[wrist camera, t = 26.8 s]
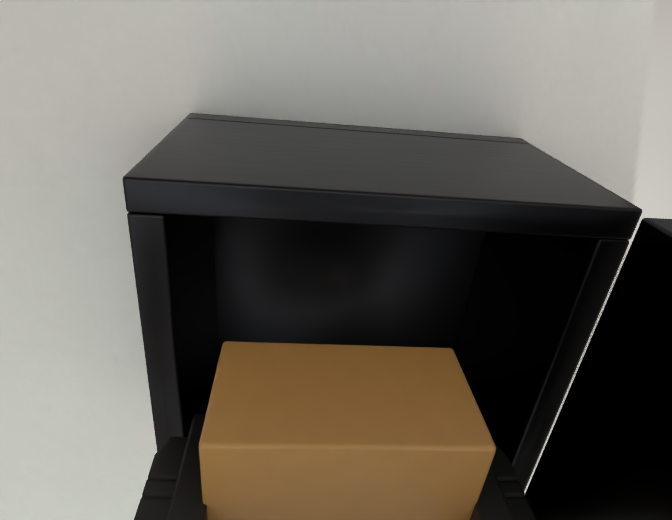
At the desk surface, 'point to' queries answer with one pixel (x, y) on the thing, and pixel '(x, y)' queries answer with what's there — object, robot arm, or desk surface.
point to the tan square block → (341, 434)
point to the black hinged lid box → (371, 258)
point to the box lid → (618, 402)
